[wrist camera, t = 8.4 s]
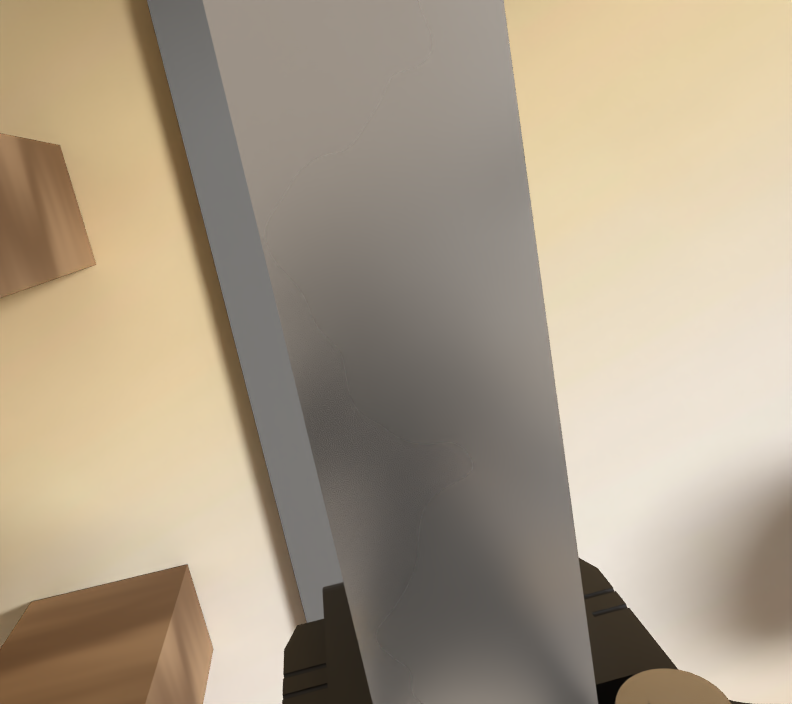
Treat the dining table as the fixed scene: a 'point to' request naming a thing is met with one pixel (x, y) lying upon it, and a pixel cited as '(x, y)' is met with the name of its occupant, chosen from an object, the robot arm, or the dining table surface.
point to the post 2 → (111, 645)
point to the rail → (416, 335)
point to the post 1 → (37, 216)
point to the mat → (247, 292)
